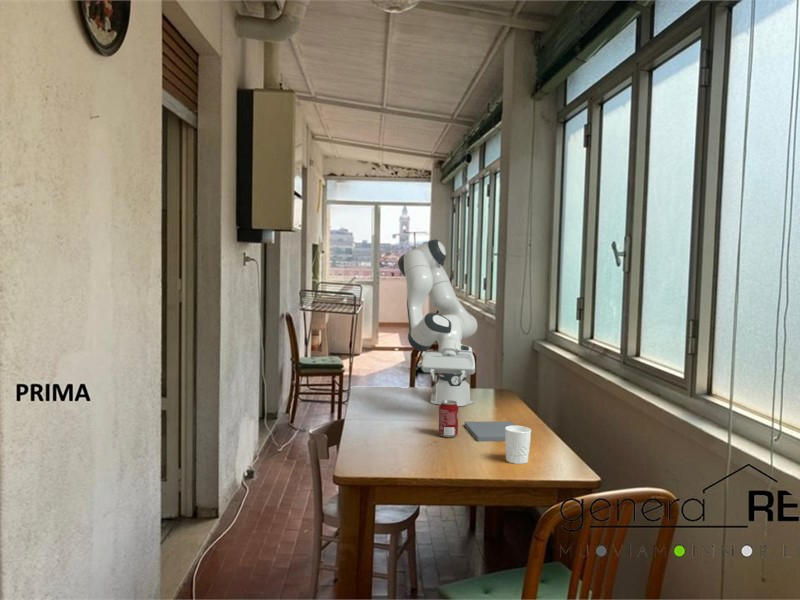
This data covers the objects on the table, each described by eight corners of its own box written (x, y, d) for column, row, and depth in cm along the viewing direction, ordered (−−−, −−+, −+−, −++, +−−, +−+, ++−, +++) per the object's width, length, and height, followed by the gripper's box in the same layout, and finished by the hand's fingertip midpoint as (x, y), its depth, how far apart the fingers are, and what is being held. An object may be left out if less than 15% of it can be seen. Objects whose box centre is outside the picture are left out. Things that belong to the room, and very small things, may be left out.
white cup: (501, 456, 192) (502, 425, 191) (525, 456, 192) (527, 425, 192) (507, 464, 184) (508, 432, 183) (533, 464, 185) (534, 432, 184)
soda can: (456, 439, 210) (457, 404, 209) (437, 437, 211) (438, 403, 211) (458, 433, 217) (459, 400, 216) (439, 432, 218) (440, 399, 217)
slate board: (464, 425, 228) (464, 421, 228) (510, 425, 230) (511, 421, 230) (477, 441, 208) (478, 436, 208) (528, 440, 210) (528, 436, 210)
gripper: (422, 345, 234) (418, 374, 224) (475, 347, 231) (474, 377, 222) (423, 355, 238) (419, 384, 229) (475, 357, 235) (474, 387, 226)
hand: (447, 381), depth 225 cm, fingers open, 8 cm apart
